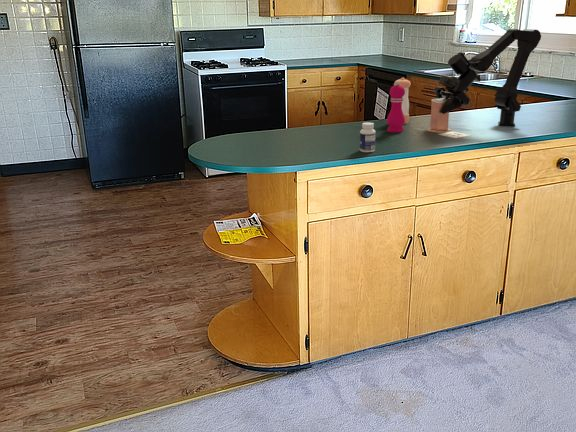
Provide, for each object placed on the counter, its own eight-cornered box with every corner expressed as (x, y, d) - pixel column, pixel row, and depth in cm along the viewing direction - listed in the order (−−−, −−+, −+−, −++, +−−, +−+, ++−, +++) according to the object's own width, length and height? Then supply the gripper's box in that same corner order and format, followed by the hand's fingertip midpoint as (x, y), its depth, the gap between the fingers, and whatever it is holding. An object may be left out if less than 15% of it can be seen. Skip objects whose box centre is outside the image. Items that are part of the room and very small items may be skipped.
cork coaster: (427, 127, 245) (427, 126, 245) (451, 128, 242) (452, 127, 242) (425, 132, 236) (425, 131, 236) (451, 133, 233) (451, 132, 233)
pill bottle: (358, 149, 210) (358, 122, 207) (372, 148, 211) (373, 121, 207) (361, 152, 205) (361, 125, 202) (376, 152, 206) (377, 124, 202)
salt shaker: (410, 121, 259) (413, 77, 252) (406, 124, 252) (409, 78, 246) (394, 120, 262) (396, 76, 255) (390, 123, 255) (392, 78, 249)
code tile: (452, 132, 236) (452, 131, 236) (470, 135, 229) (470, 134, 229) (437, 135, 231) (437, 134, 231) (455, 138, 224) (455, 137, 224)
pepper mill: (404, 133, 235) (407, 82, 228) (386, 132, 236) (388, 82, 230) (404, 129, 242) (407, 80, 235) (386, 129, 243) (388, 80, 236)
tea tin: (441, 127, 242) (442, 97, 237) (448, 130, 237) (450, 99, 233) (430, 128, 240) (431, 99, 236) (436, 131, 236) (438, 101, 231)
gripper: (439, 66, 240) (413, 95, 241) (466, 70, 224) (439, 101, 224) (454, 84, 245) (429, 113, 246) (481, 90, 229) (455, 120, 229)
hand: (437, 111), depth 236 cm, fingers open, 7 cm apart
